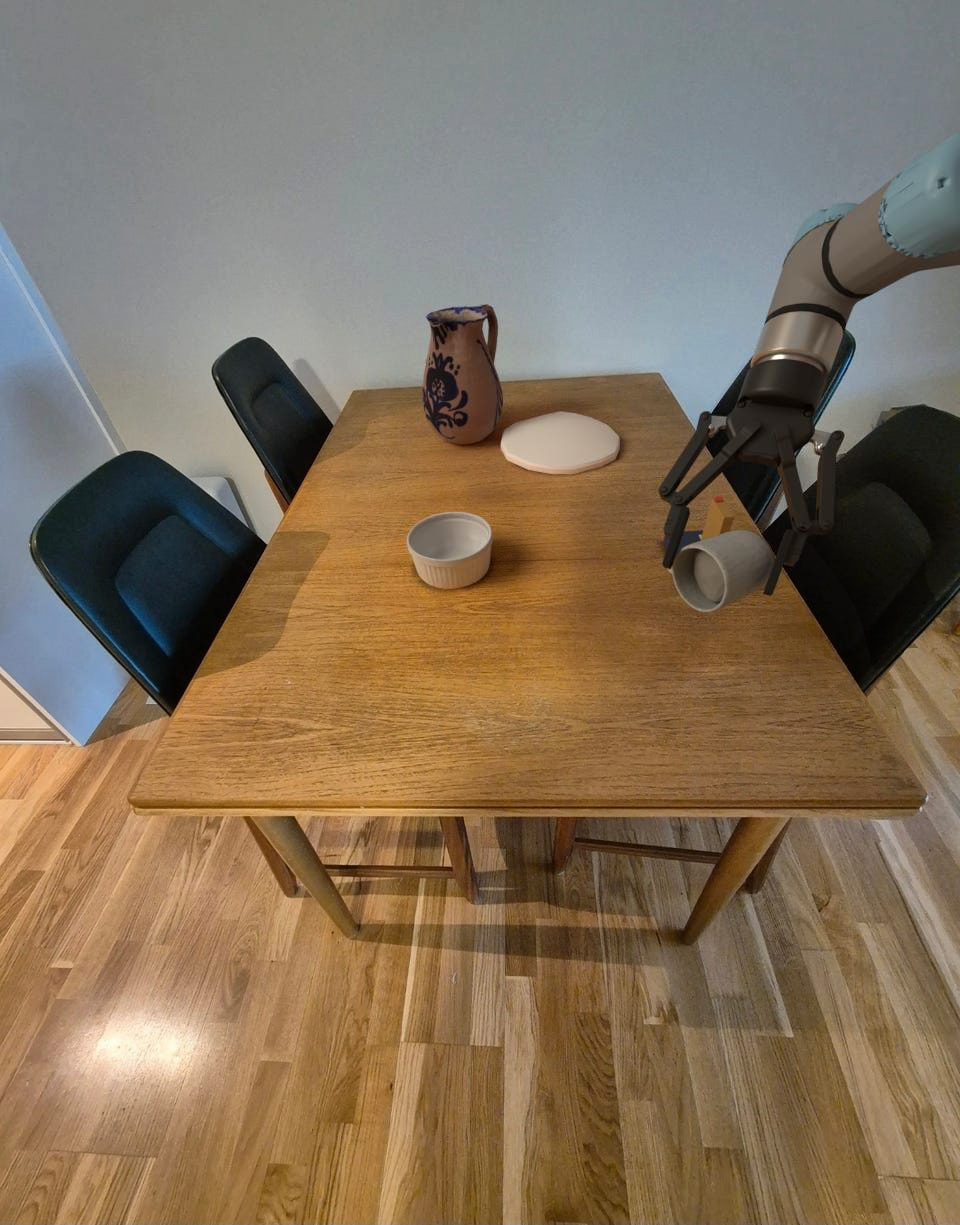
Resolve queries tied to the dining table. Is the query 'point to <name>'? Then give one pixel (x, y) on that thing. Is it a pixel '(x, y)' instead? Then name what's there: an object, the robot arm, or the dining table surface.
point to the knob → (717, 519)
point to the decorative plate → (560, 443)
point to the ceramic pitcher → (462, 374)
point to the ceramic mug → (722, 569)
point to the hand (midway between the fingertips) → (715, 579)
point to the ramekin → (451, 549)
